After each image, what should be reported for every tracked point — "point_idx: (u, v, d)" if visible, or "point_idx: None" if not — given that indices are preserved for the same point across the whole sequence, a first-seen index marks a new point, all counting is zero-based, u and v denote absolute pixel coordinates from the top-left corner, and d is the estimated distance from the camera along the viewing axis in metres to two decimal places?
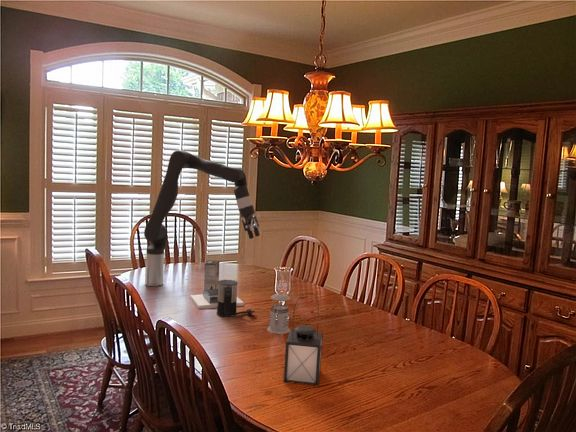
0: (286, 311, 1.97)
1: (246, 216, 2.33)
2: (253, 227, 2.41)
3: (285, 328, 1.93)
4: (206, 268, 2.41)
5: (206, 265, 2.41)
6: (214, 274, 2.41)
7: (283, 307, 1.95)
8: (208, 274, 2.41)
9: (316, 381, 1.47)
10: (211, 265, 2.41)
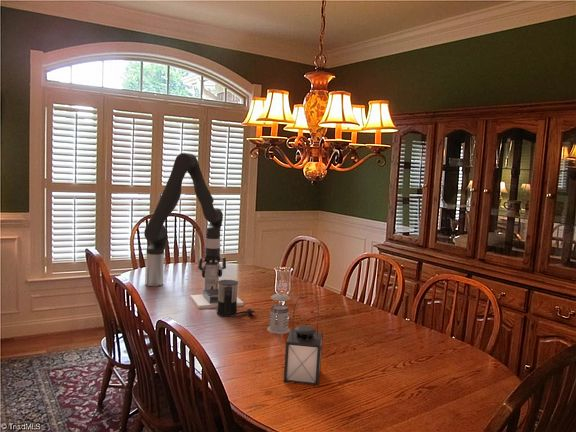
0: (286, 311, 1.97)
1: (205, 256, 2.43)
2: (219, 267, 2.48)
3: (285, 328, 1.93)
4: (207, 268, 2.41)
5: (207, 265, 2.41)
6: (215, 274, 2.41)
7: (283, 307, 1.95)
8: (209, 274, 2.41)
9: (316, 381, 1.47)
10: (212, 265, 2.41)
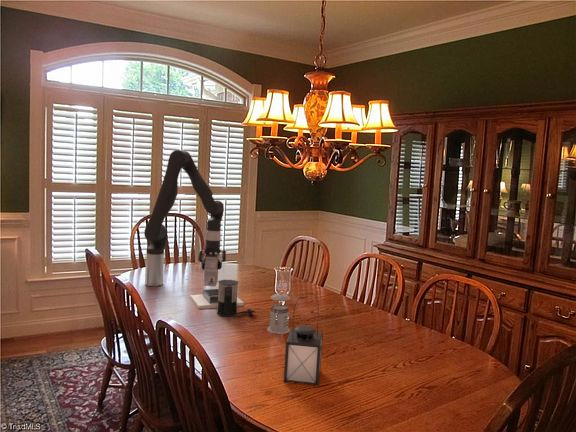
0: (286, 311, 1.97)
1: (205, 248, 2.43)
2: None
3: (285, 328, 1.93)
4: (206, 260, 2.40)
5: (207, 257, 2.40)
6: (214, 266, 2.41)
7: (283, 307, 1.95)
8: (209, 266, 2.41)
9: (316, 381, 1.47)
10: (212, 257, 2.40)
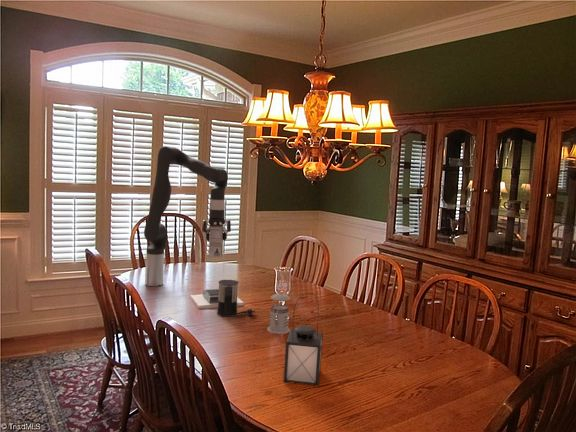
0: (286, 311, 1.97)
1: (209, 218, 2.34)
2: None
3: (285, 328, 1.93)
4: (211, 230, 2.32)
5: (211, 227, 2.32)
6: (220, 236, 2.32)
7: (283, 307, 1.95)
8: (213, 236, 2.32)
9: (316, 381, 1.47)
10: (216, 227, 2.32)
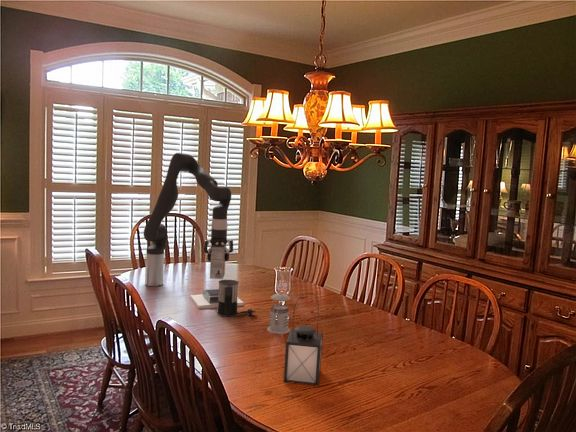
0: (286, 311, 1.97)
1: (211, 238, 2.25)
2: None
3: (285, 328, 1.93)
4: (213, 251, 2.23)
5: (213, 247, 2.22)
6: (221, 257, 2.23)
7: (283, 307, 1.95)
8: (215, 257, 2.23)
9: (316, 381, 1.47)
10: (218, 247, 2.23)
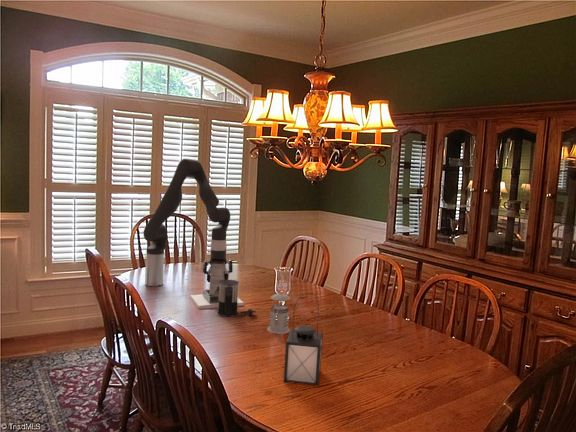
0: (286, 311, 1.97)
1: (210, 259, 2.26)
2: (225, 271, 2.30)
3: (285, 328, 1.93)
4: (213, 267, 2.23)
5: (213, 264, 2.23)
6: (221, 274, 2.24)
7: (283, 307, 1.95)
8: (215, 273, 2.24)
9: (316, 381, 1.47)
10: (218, 264, 2.23)
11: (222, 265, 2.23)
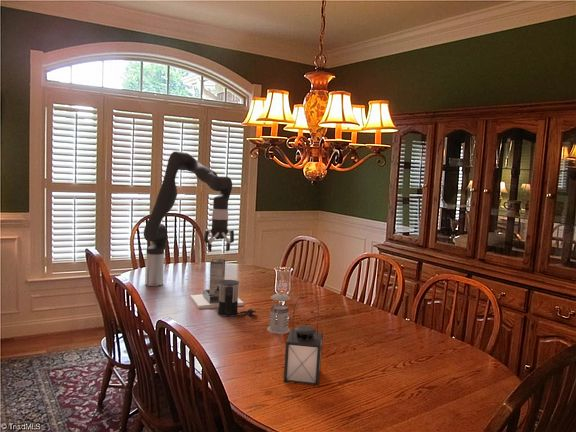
0: (286, 311, 1.97)
1: (212, 228, 2.24)
2: (226, 240, 2.29)
3: (285, 328, 1.93)
4: (212, 267, 2.23)
5: (212, 264, 2.23)
6: (221, 274, 2.24)
7: (283, 307, 1.95)
8: (214, 273, 2.24)
9: (316, 381, 1.47)
10: (217, 264, 2.23)
11: (221, 265, 2.23)
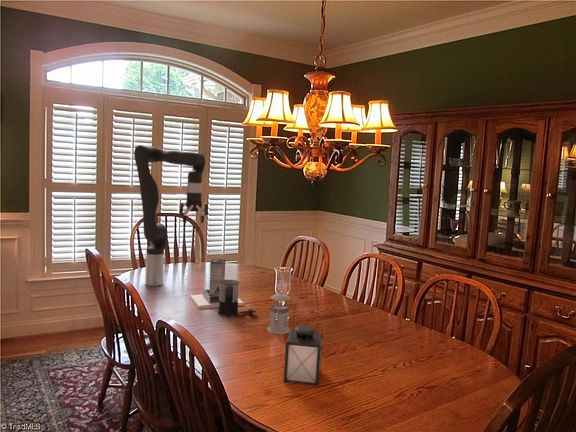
0: (286, 311, 1.97)
1: (187, 201, 2.39)
2: (200, 213, 2.44)
3: (285, 328, 1.93)
4: (212, 267, 2.23)
5: (212, 264, 2.23)
6: (221, 274, 2.24)
7: (283, 307, 1.95)
8: (214, 273, 2.24)
9: (316, 381, 1.47)
10: (217, 264, 2.23)
11: (221, 265, 2.23)
